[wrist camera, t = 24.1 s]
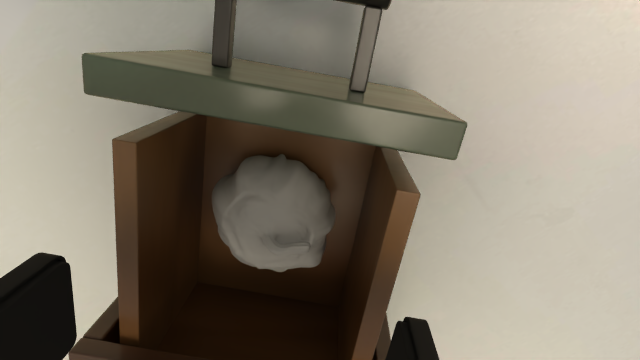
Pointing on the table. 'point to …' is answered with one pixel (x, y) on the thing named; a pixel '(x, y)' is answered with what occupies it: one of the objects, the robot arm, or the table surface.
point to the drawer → (224, 159)
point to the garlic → (273, 213)
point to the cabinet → (110, 356)
